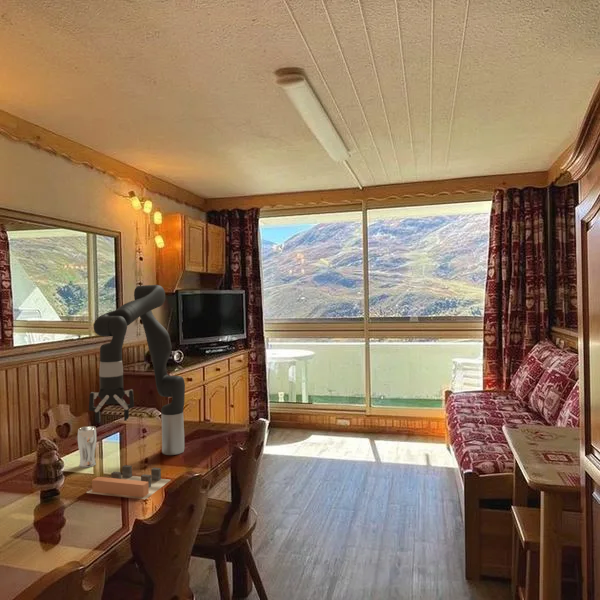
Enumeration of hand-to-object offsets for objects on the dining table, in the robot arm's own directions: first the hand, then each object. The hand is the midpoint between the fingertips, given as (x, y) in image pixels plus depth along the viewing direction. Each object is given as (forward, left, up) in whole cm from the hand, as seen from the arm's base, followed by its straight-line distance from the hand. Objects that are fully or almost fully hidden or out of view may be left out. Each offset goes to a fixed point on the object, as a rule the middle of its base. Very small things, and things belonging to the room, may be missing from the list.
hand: (112, 421), depth 161 cm
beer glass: (-23, -29, -26) cm, 45 cm away
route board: (-6, +2, -26) cm, 26 cm away
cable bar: (0, +2, -24) cm, 25 cm away
